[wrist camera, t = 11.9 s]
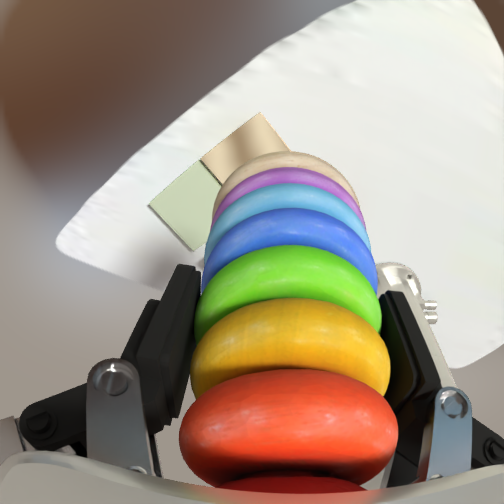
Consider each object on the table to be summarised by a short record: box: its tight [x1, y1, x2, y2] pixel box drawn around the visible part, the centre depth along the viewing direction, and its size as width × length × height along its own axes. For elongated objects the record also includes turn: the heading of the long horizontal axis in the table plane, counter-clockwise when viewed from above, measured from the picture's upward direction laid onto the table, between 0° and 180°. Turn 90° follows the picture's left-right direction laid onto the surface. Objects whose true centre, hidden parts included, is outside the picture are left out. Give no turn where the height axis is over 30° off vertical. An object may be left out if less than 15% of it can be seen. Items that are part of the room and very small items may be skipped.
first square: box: [201, 112, 291, 184], centre depth 35 cm, size 8×8×1 cm
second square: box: [149, 160, 221, 251], centre depth 38 cm, size 8×8×1 cm
